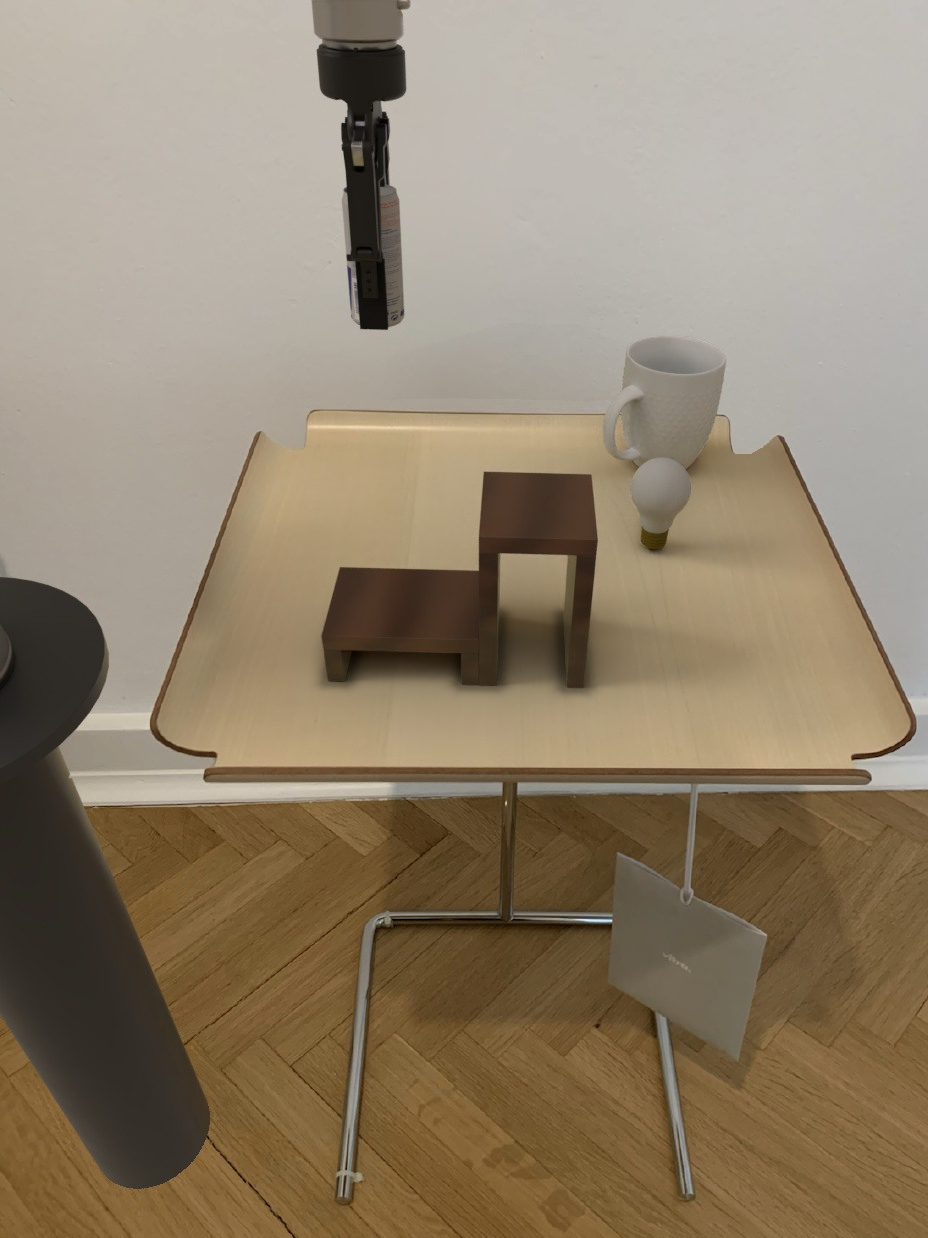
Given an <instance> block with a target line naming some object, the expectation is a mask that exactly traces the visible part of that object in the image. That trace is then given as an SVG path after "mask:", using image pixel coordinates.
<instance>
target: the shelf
mask: <svg viewBox="0 0 928 1238" xmlns="http://www.w3.org/2000/svg"><path fill="white" fill-rule="evenodd" d="M482 474H483V476H482V488H481V501H480V502H481V503H480V513H479V514H480V515H479V527H478V570H471V569H470V570H469V569H467V570H466V569H429V568H391V567H389V568H388V567H355V566H353V567H352V566H350V567H349V566H340V567H339V569H338V572H337V576H336V580H335V583H334V586H333V590H332V595H331V598H330V602H329V606H328V611H327V614H326V617H325V620H324V625H323V627H322V631H321V635H320V636H321V645H322V649H323V658H324V664H325V671H326V678H327V681H328V682H345V681H346V679H347V675H348V670H349V666H350V665H349V664H350V660H351V656H352V651H360V652H361V651H362V652H363V651H364V652H365V651H366V652H367V651H368V652H399V653H400V652H403V653H405V652H406V653H435V654H436V653H441V654H460V671H461V672H460V673H461V676H460V677H461V685H463V686H465V685H467V686H497V685H498V684H497V681H498V680H497V679H498V659H499V657H498V656H499V638H500V637H499V634H500V610H501V609H500V608H501V607H500V604H501V603H500V601H501V599H500V598H501V554H503V555H505V554H506V555H507V554H509V555H512V554H513V555H541V556H542V555H544V556H548V555H549V556H567V560H566V576H565V588H564V604H563V637H564V663H565V664H564V665H565V685H566V688H581V689H583V688H584V687H585V678H586V667H587V659H588V649H589V636H590V627H591V615H592V605H593V597H594V585H595V576H596V575H595V573H596V565H597V555H598V554H597V553H598V543H599V537H598V528H597V527H598V526H597V516H596V507H595V505H596V504H595V496H594V485H593V476H592V474H591V473H561V472H559V473H557V472H553V473H551V472H521V471H520V472H517V471H516V472H515V471H483V473H482Z"/></svg>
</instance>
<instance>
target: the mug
mask: <svg viewBox="0 0 928 1238" xmlns="http://www.w3.org/2000/svg"><path fill="white" fill-rule="evenodd" d="M726 365H727V357H726V354H725V352H724V351H723V349H721V348H720V347H718V346H717V345H716V344H713V343H711V342H709V341H706V340H703V339H700V338H697V337H692V336H687V335H678V334H658V335H657V334H656V335H649V336H645V337H641V338H638V339H636V340H634V341H632V342H631V343H630V344H629V345H628V346H627V347H626V351H625V358H624V367H623V373H622V383H621V390H619V391H618V392H617V393H616V394H615V395H614V396H613V398H612V400H611V401H610V403H609V405H608V407H607V408H606V412H605V414H604V418H603V424H602V439H603V444H604V446H605V449H606V451H607V452H608V454H610V455H611V457H613V458H615V459H617V460H619V461H625V462H628V461H629V462H631V461H632V462H633V463H634V464H635V465H636V466H637V467H638V468H639V467H640V466H641V465H642V464H644V463H645V462H647V461H649V460H651V459H654V458H660V457H664V458H670V459H673V460H675V461H677V462H678V463H680V464H681V465H682V466H683V467H684V468H685V469H686V470H687V469H688V468H690V467H691V466H692V464H693V463H695V461H696V460H697V458H698V457H699V456H700V455H701V453H702V451H703V450H704V448H705V446H706V444H707V442H708V440H709V437H710V435H711V434H712V430H713V428H714V424H715V423H716V418H717V414H718V410H719V405H720V400H721V396H722V391H723V384H724V380H725V371H726V367H727V366H726ZM620 415H621V425H622V435H623V438H624V442H625V446H626V449H625V450H620V449H618V446H617V443H616V428H617V423H618V420H619V416H620Z"/></svg>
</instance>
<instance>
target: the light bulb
mask: <svg viewBox="0 0 928 1238" xmlns="http://www.w3.org/2000/svg"><path fill="white" fill-rule="evenodd" d="M691 494H692V481H691V477H690V474H689V473H688V471H687V469H685V468H684V467H683V466H682V465H681V464H680V463H678V462H677V461H675V460H673V459H670V458H664V457H660V458H654V459H651V460H649V461H647V462H645V463H644V464H642V465H641V466H640V467H638V468H637V469H636V471H635V473H634V474H633V476H632V479H631V482H630V496H631V500H632V502H633V504H634V506H635V508H636V509H637V512H638V515H639V521H640V525H641V527H640V528H641V530H640V543H641V545H642V546H643V547H645V548H647V549H648V550H650V551H655V550H658V549H661V548H664V547H665V546H666V545H667V540H668V535H669V531H670V528H671V527H672V525H673V523H674V520H675V518H676V517H677V516H678V515H679V513H680V512H682V510H683V509H684V508H685V507H686V505H687V504H688V502H689V499H690V497H691Z"/></svg>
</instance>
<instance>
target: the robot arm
mask: <svg viewBox="0 0 928 1238" xmlns="http://www.w3.org/2000/svg"><path fill="white" fill-rule="evenodd" d="M410 8H411V0H311V12H312V13H311V14H312V23H313V24H312V25H313V34H314V35H315V36H316V37H317V38H318V39H319V40H321V43H320V44H319V45H318V48H316V61H317V73H318V82H319V90H320V92H321V94H322V95H323V96H324V97H325V98H327V99H331V100H333V101H343V102H344V103H346V107H347V109H346V116H344V122H341V123H340V135H341V136H340V138H341V139H340V140H341V151H342V155H343V163H344V170H345V182H346V183H345V184H346V187H347V199H348V212H349V226H350V240H351V251H350V254H346V253H345V258H346V257H347V259H346V262H347V261H353V262H355V267H356V280H357V293H358V306H359V320H360V325H359V329H360V330H370V331H371V330H372V331H374V330H376V331H389V327H388V310H387V292H386V274H385V258H383V252H382V238H381V203H380V187H384V186H385V184H386V185H390V160H391V159H390V158H391V157H390V146H389V145H390V144H389V141H390V135H391V125H390V118H389V115H388V113H387V111H383V106H382V102H385V103H386V102H392V101H395V100H396V101H397V100H398V99H401V98H402V97H404V96H405V94H406V92H407V66H406V50H405V49H403V46H402V45H401V44H398V41H400V40H401V39H402V37H404V35H405V32H404V31H405V29H404V27H405V26H404V14H403V12H402V11H403V10H405V11H406V10H409V9H410ZM390 186H391V185H390ZM14 664H15V653H14V650H13V647H12V644H11V642H10V640H9V637H8V635H7V633H6V632H5V631H4V629H3V627H2V626H1V624H0V690H1V689H2V688H3V687H4V685H5V684H6V682H7V681H8V679H9V677H10V676H11V673H12V671H13V668H14Z"/></svg>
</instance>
